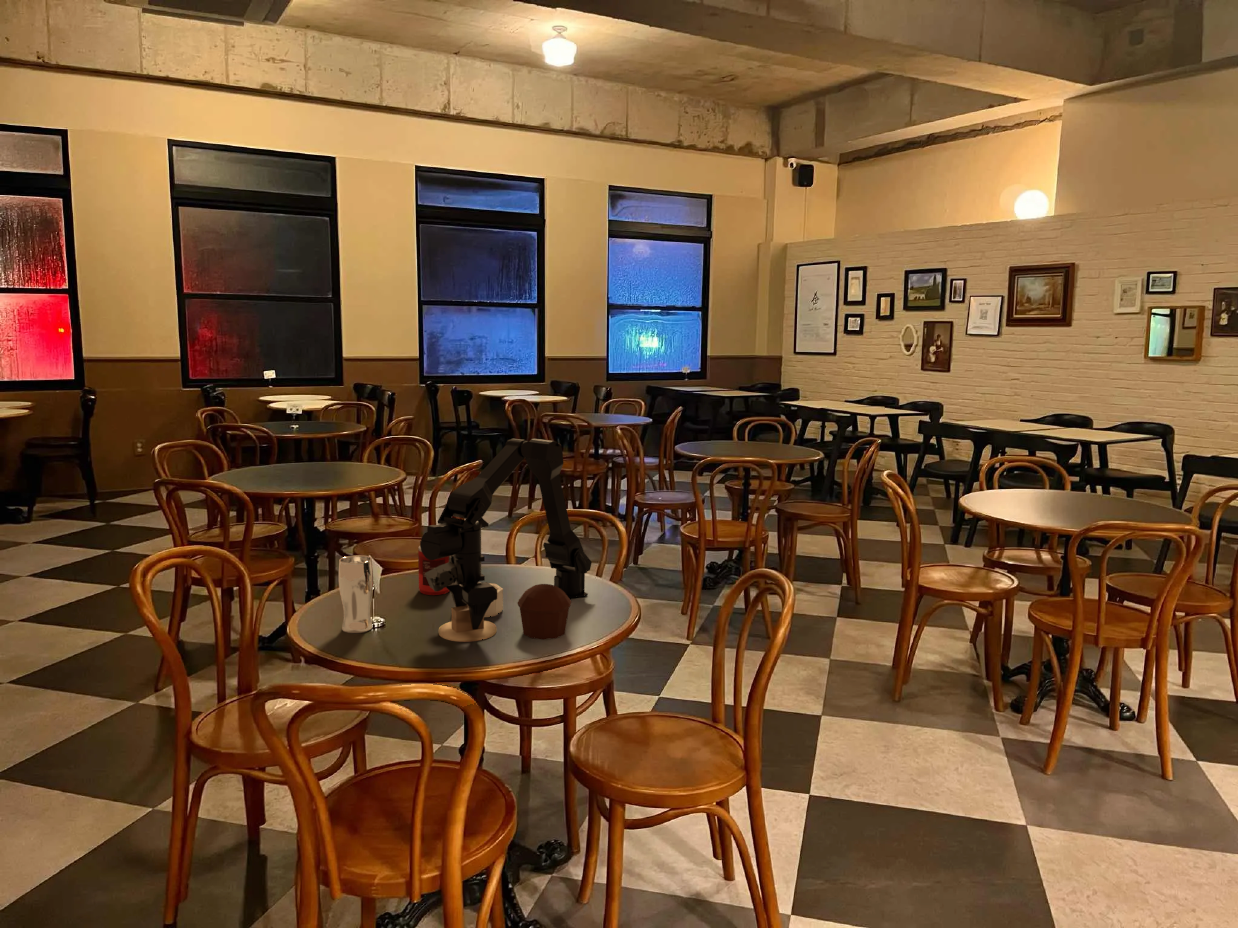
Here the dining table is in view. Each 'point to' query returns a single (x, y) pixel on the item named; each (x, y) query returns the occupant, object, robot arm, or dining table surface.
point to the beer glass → (356, 592)
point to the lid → (465, 627)
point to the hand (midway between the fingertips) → (467, 623)
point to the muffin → (544, 611)
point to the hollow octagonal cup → (495, 603)
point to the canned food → (424, 567)
